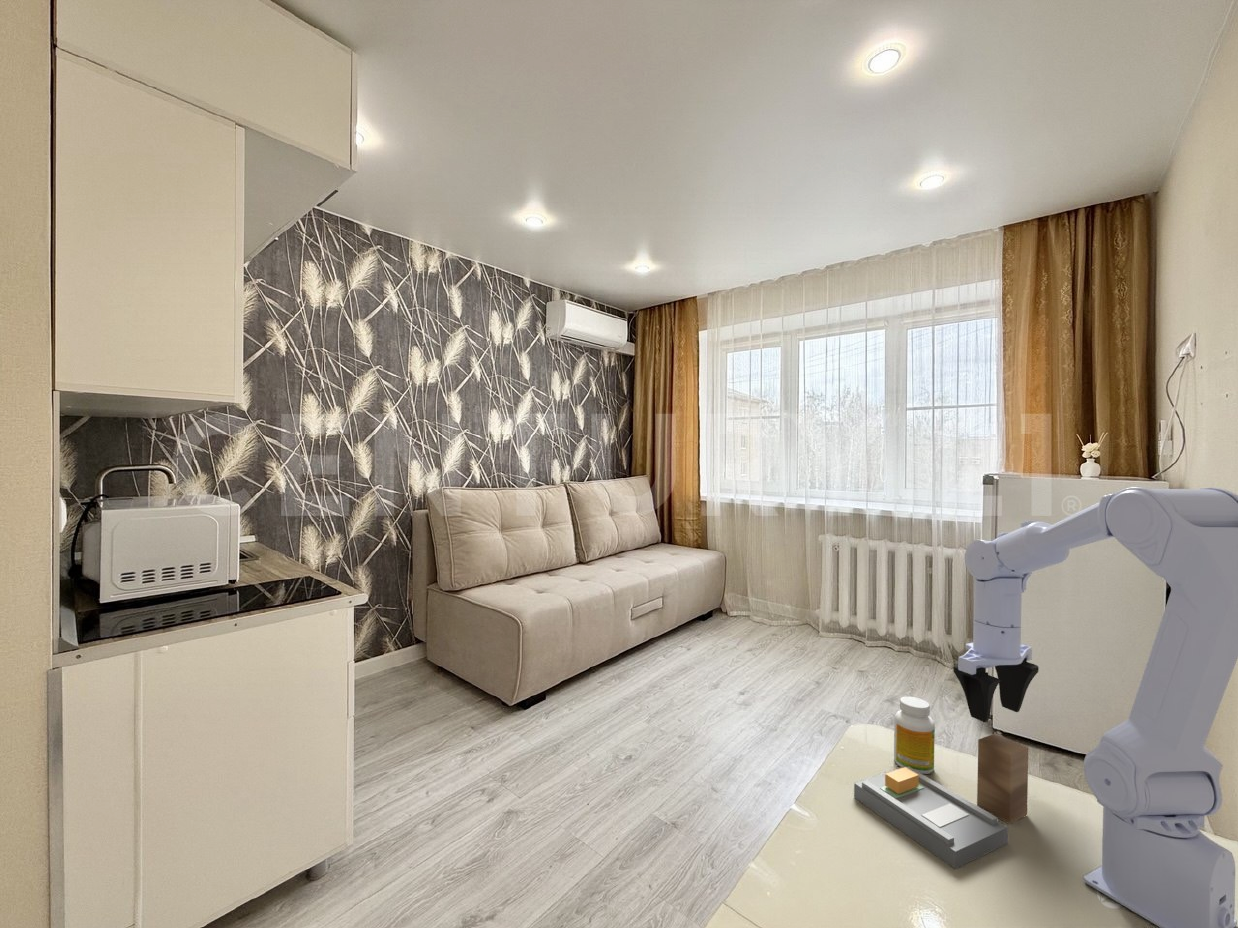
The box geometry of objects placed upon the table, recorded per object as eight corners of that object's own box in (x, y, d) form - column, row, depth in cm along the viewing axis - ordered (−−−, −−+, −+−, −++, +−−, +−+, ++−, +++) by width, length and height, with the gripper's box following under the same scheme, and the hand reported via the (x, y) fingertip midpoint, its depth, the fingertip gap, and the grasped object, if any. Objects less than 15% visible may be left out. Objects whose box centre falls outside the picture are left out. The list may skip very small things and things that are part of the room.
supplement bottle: (940, 777, 78) (941, 711, 78) (900, 772, 79) (901, 707, 79) (926, 757, 83) (927, 695, 83) (889, 753, 84) (890, 692, 84)
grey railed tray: (1007, 843, 65) (1008, 822, 64) (955, 868, 60) (955, 846, 60) (903, 779, 77) (903, 762, 77) (854, 797, 73) (854, 778, 73)
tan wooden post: (1027, 815, 70) (1028, 747, 70) (1009, 823, 68) (1010, 754, 68) (994, 797, 73) (995, 733, 73) (977, 805, 72) (978, 739, 72)
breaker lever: (918, 786, 72) (918, 774, 72) (898, 793, 70) (898, 781, 70) (905, 778, 74) (905, 766, 74) (885, 785, 72) (885, 773, 72)
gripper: (997, 609, 85) (996, 694, 85) (938, 620, 79) (936, 711, 79) (1048, 622, 78) (1046, 713, 78) (988, 634, 72) (986, 733, 72)
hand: (995, 713), depth 78 cm, fingers open, 7 cm apart
